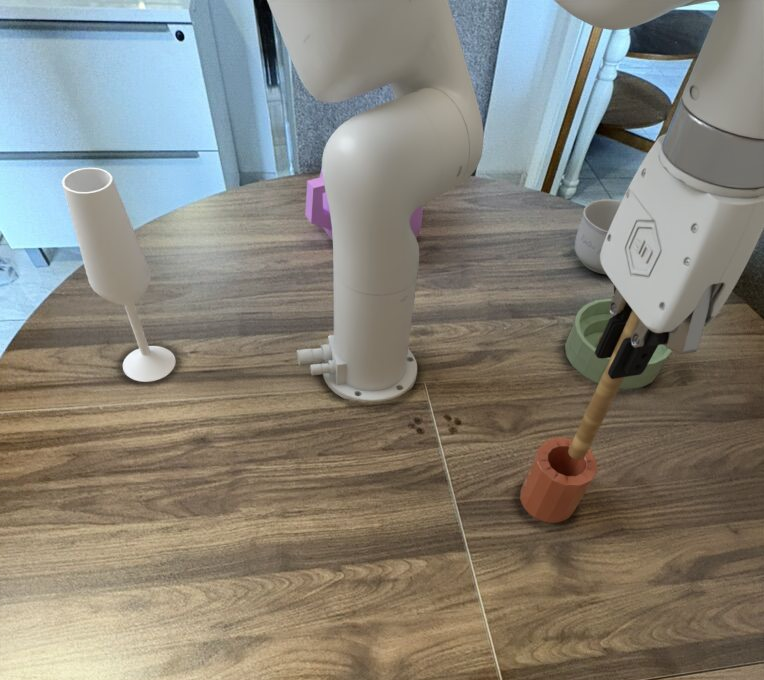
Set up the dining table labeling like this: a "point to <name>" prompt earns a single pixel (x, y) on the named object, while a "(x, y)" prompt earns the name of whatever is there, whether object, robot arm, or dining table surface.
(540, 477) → the holder
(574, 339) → the bowl
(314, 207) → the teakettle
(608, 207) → the teacup
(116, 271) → the champagne flute
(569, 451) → the stick
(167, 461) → the dining table surface
